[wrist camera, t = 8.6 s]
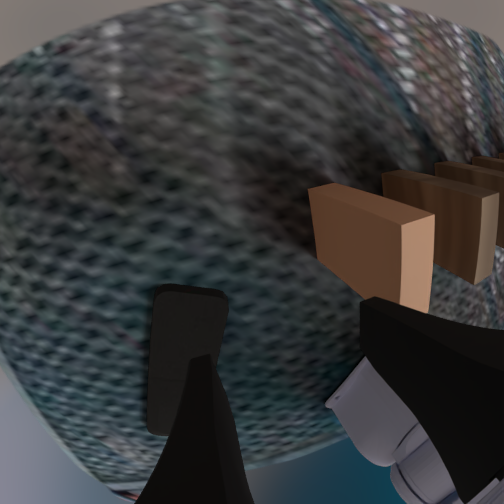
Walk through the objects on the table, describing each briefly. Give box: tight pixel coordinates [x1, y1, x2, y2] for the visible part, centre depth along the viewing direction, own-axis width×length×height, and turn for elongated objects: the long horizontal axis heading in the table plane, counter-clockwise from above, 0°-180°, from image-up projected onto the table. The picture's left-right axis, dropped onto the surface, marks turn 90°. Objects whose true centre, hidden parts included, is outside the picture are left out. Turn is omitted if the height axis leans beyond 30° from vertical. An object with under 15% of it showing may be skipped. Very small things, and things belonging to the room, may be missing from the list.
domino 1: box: [308, 183, 435, 313], centre depth 16 cm, size 2×5×9 cm, turn 13°
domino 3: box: [434, 161, 504, 248], centre depth 18 cm, size 2×5×9 cm, turn 13°
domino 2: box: [381, 169, 499, 285], centre depth 17 cm, size 2×5×9 cm, turn 13°
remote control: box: [147, 284, 229, 436], centre depth 21 cm, size 5×2×15 cm
